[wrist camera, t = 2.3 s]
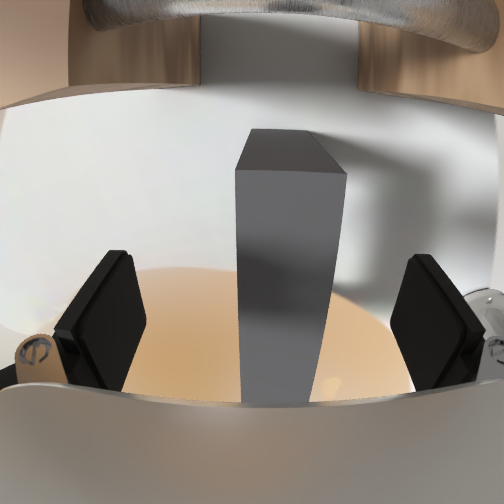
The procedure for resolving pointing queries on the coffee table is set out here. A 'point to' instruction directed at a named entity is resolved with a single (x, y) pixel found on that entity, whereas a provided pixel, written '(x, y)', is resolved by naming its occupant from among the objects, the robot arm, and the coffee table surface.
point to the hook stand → (203, 3)
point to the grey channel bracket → (284, 260)
